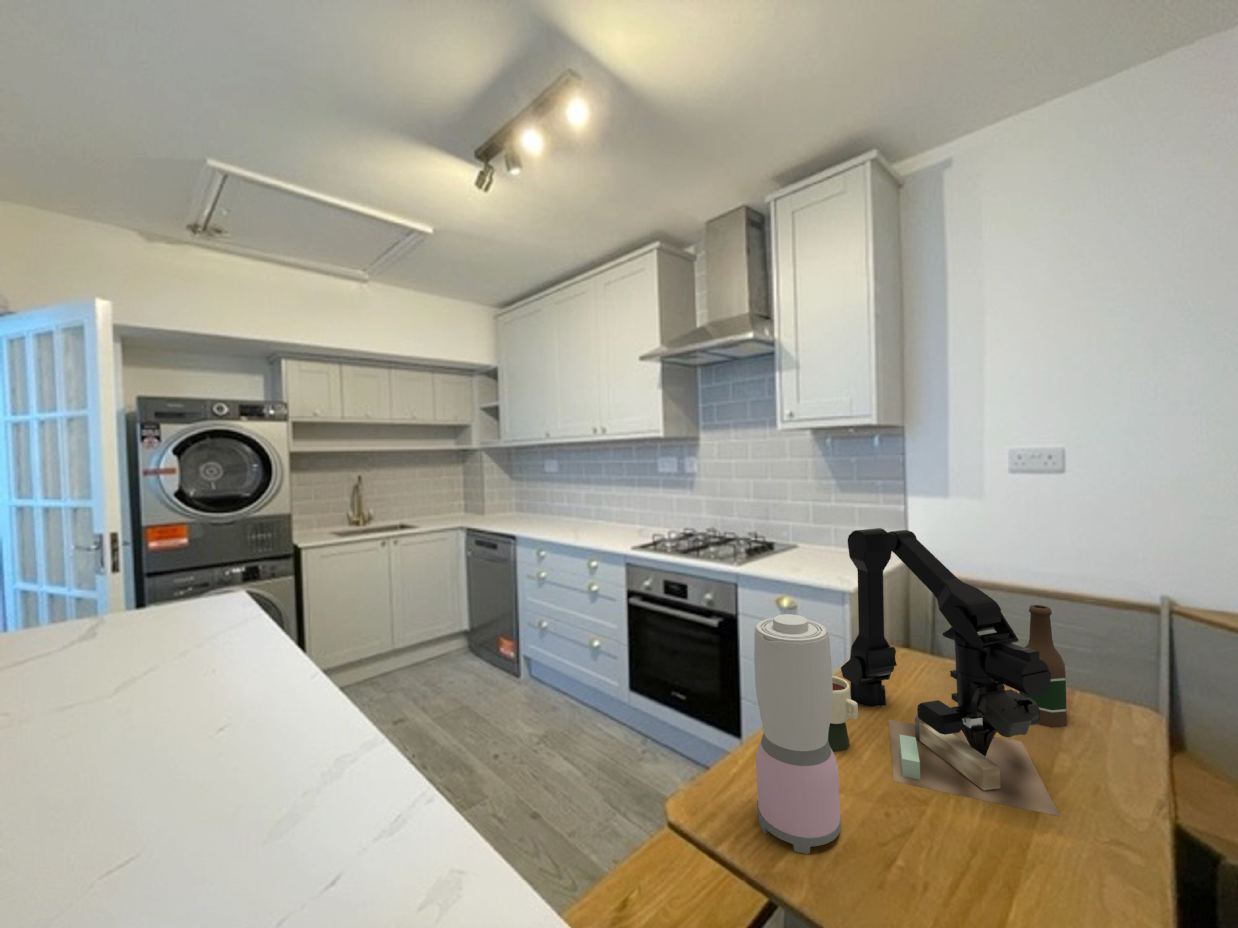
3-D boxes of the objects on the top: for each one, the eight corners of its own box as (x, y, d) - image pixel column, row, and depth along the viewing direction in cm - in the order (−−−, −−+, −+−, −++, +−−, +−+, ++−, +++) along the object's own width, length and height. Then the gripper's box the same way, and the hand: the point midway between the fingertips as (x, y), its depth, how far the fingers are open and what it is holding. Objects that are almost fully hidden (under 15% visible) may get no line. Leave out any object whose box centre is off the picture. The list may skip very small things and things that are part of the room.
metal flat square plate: (893, 789, 86) (893, 780, 86) (888, 726, 105) (888, 719, 105) (1060, 825, 76) (1060, 815, 76) (1021, 749, 95) (1021, 741, 95)
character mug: (870, 755, 96) (867, 686, 95) (848, 770, 91) (846, 699, 91) (817, 731, 104) (815, 668, 104) (796, 743, 100) (793, 678, 100)
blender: (815, 869, 71) (806, 640, 70) (741, 824, 80) (732, 621, 79) (864, 812, 81) (857, 612, 80) (794, 778, 90) (786, 598, 89)
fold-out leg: (911, 734, 99) (910, 716, 99) (926, 732, 99) (926, 714, 99) (983, 790, 82) (982, 768, 82) (1001, 787, 83) (1000, 766, 82)
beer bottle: (1057, 717, 105) (1054, 601, 105) (1077, 737, 98) (1073, 613, 97) (1012, 712, 108) (1009, 599, 107) (1028, 732, 101) (1024, 611, 100)
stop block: (902, 775, 87) (902, 758, 87) (899, 750, 94) (899, 734, 94) (920, 779, 86) (919, 762, 86) (916, 753, 93) (915, 737, 93)
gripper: (963, 700, 78) (969, 799, 79) (1070, 684, 81) (1074, 780, 81) (912, 669, 89) (917, 756, 90) (1008, 656, 92) (1012, 741, 92)
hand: (980, 759), depth 88 cm, fingers closed
